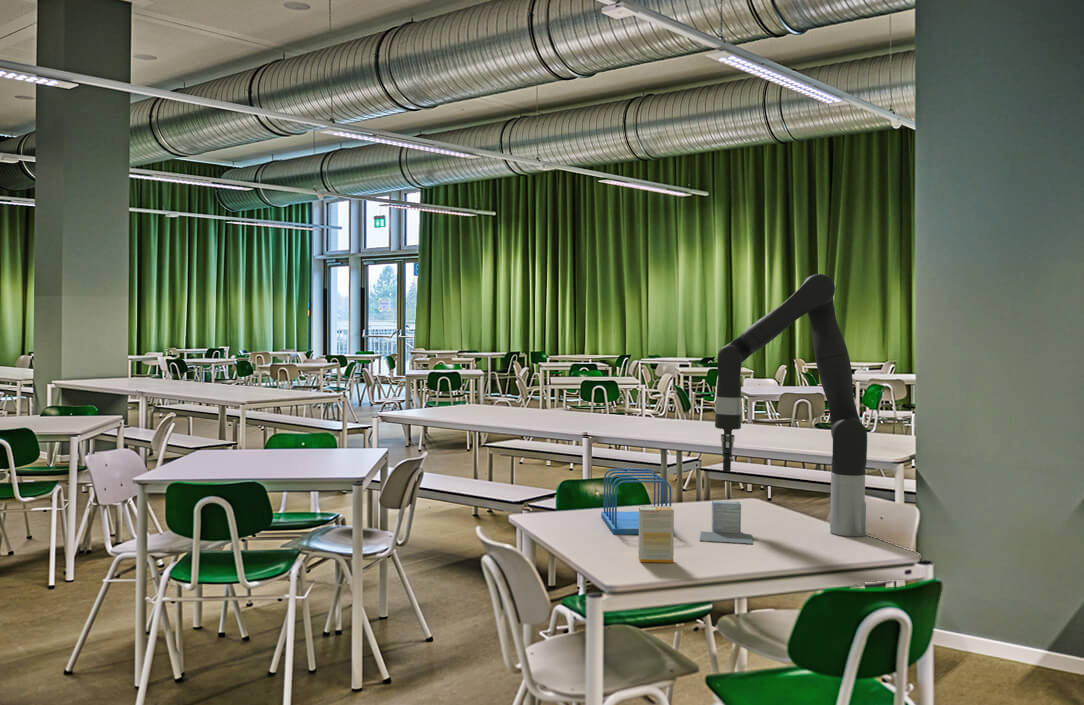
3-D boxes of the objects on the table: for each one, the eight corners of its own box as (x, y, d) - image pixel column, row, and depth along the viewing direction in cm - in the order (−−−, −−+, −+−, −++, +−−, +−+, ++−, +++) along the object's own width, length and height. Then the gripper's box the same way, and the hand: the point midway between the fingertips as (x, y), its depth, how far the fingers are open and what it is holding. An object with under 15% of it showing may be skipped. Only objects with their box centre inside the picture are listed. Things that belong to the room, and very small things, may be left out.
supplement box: (671, 558, 217) (672, 505, 217) (673, 563, 212) (674, 509, 212) (637, 558, 217) (638, 505, 217) (639, 562, 212) (640, 508, 212)
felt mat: (751, 535, 246) (751, 534, 246) (752, 544, 235) (752, 543, 235) (700, 532, 249) (700, 531, 249) (699, 541, 237) (699, 540, 237)
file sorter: (600, 517, 269) (601, 467, 269) (656, 518, 271) (657, 468, 271) (612, 535, 244) (613, 480, 244) (674, 535, 246) (675, 480, 246)
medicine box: (739, 531, 252) (739, 501, 252) (740, 534, 248) (741, 503, 248) (711, 530, 253) (711, 500, 253) (712, 533, 248) (713, 502, 248)
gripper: (741, 414, 252) (740, 474, 252) (740, 411, 265) (739, 468, 265) (715, 413, 253) (713, 473, 253) (715, 410, 266) (714, 467, 266)
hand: (726, 471), depth 259 cm, fingers closed
